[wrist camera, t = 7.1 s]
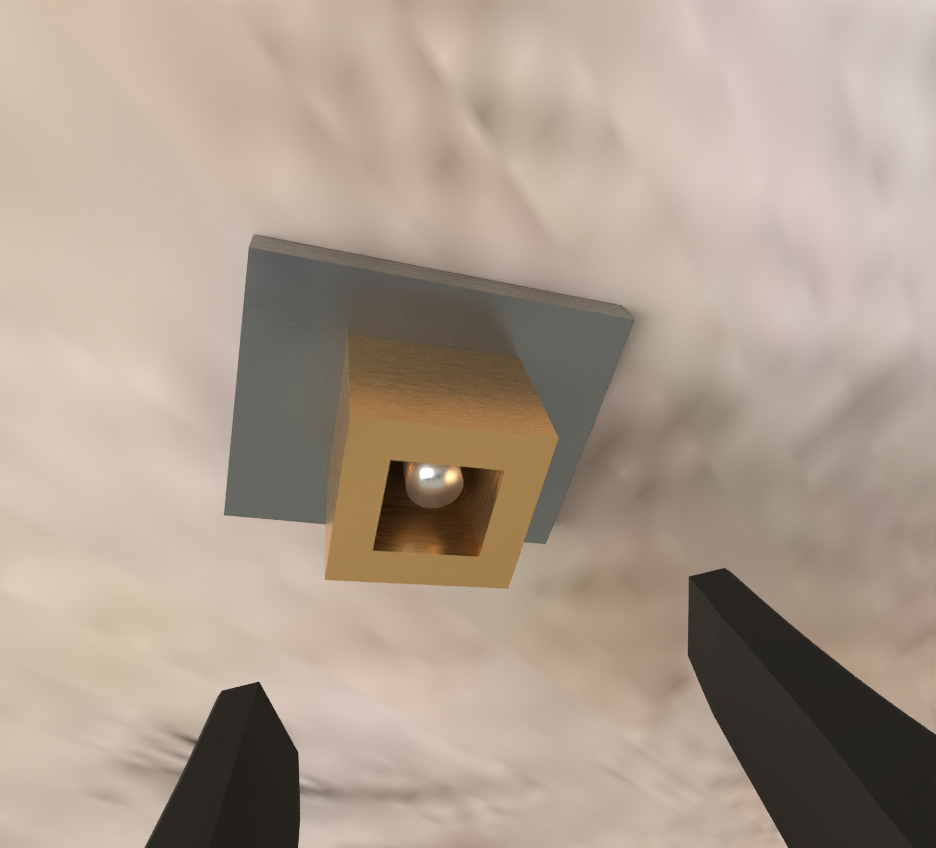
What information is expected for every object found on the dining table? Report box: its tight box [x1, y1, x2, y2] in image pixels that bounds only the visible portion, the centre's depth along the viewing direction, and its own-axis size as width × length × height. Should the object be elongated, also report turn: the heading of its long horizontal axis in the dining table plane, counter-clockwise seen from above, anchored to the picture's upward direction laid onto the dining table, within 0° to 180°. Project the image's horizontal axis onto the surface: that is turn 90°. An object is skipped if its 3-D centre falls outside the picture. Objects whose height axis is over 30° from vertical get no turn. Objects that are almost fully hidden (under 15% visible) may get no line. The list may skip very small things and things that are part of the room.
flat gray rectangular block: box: [224, 235, 634, 544], centre depth 18 cm, size 10×8×4 cm
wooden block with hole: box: [325, 335, 559, 588], centre depth 17 cm, size 5×5×4 cm
